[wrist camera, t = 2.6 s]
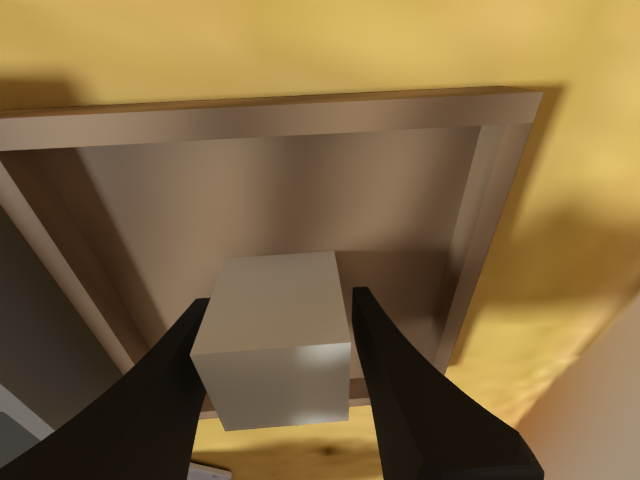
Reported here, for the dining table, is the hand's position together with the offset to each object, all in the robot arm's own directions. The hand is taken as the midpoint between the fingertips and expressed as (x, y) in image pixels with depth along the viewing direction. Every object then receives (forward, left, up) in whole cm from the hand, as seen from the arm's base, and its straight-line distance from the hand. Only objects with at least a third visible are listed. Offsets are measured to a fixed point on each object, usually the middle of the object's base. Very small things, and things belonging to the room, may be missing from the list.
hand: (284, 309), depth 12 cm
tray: (0, 0, -2) cm, 2 cm away
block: (0, 0, -1) cm, 1 cm away
